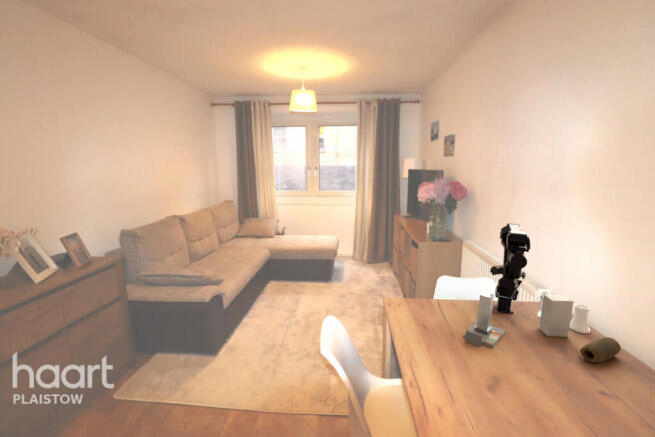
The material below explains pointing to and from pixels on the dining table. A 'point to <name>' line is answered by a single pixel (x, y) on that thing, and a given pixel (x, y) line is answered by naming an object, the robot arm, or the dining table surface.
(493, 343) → the gauge board
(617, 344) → the brown hollow cylinder
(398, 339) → the dining table surface
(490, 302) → the bar
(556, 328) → the skincare box
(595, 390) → the dining table surface
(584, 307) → the vase
